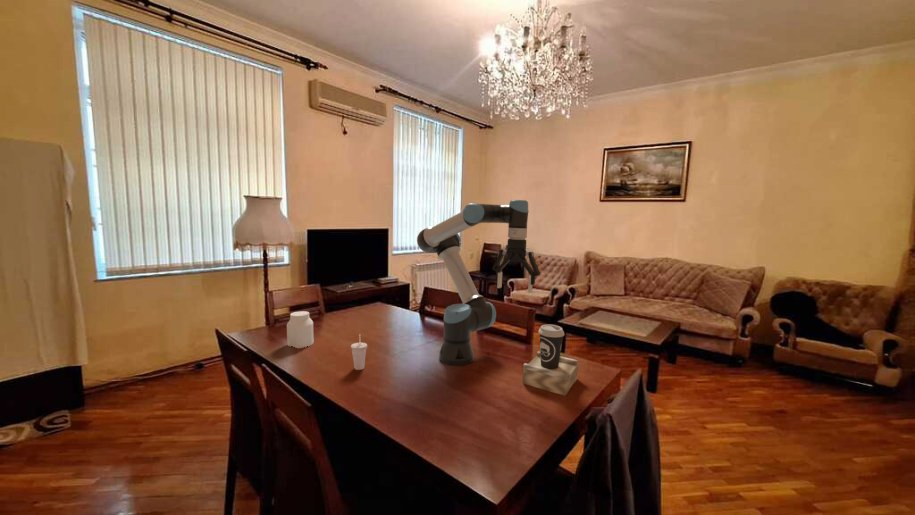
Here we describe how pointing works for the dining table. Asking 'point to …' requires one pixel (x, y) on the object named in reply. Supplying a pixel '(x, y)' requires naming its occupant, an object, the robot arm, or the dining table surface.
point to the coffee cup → (550, 345)
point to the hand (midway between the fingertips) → (514, 290)
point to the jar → (300, 330)
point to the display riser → (551, 375)
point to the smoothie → (359, 354)
